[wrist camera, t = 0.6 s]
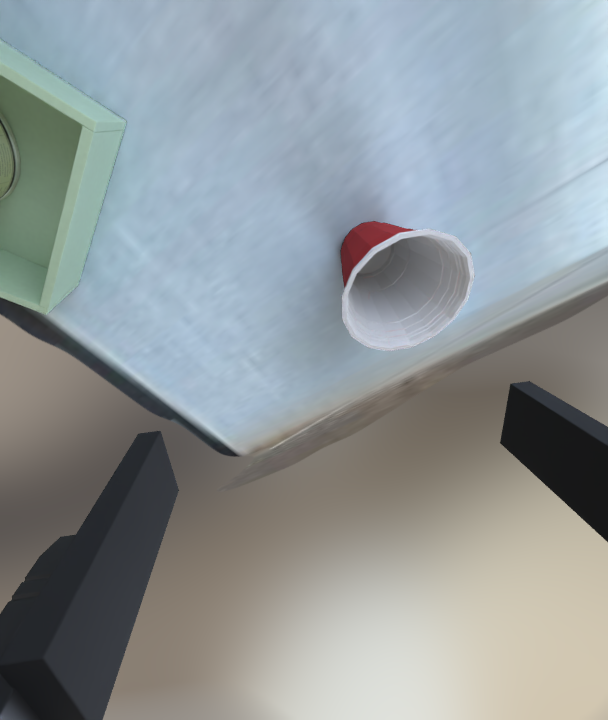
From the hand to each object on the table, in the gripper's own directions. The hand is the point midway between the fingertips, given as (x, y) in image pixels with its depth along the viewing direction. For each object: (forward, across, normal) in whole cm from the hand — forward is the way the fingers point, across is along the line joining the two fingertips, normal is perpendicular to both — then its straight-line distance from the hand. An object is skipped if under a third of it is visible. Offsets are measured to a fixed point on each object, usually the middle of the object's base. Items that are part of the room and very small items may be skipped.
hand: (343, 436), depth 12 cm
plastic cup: (+26, +9, +4) cm, 28 cm away
